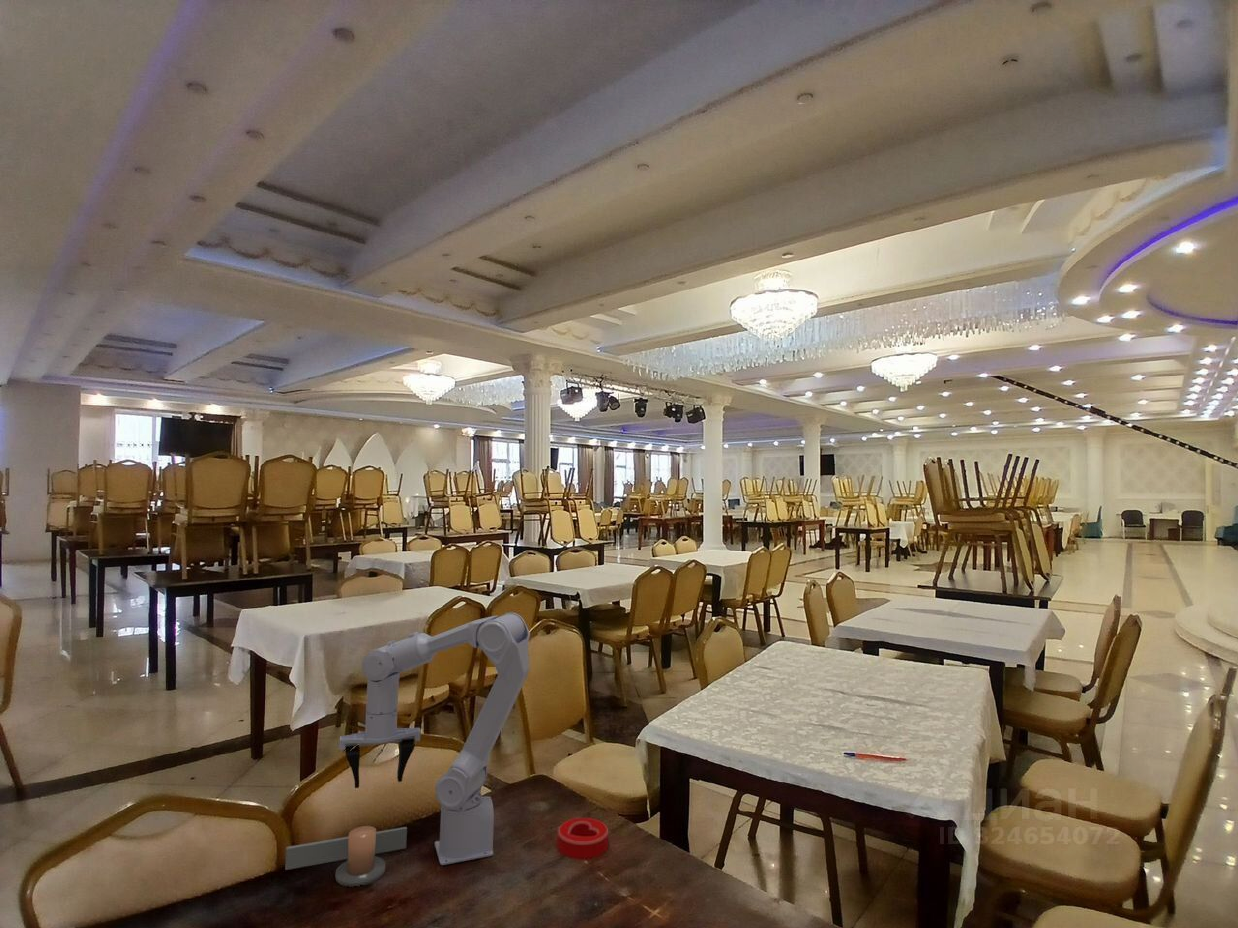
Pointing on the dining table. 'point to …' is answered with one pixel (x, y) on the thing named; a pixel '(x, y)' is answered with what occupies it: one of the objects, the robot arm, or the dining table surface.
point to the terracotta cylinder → (361, 850)
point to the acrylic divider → (340, 848)
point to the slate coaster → (351, 880)
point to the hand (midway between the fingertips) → (378, 782)
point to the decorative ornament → (582, 838)
